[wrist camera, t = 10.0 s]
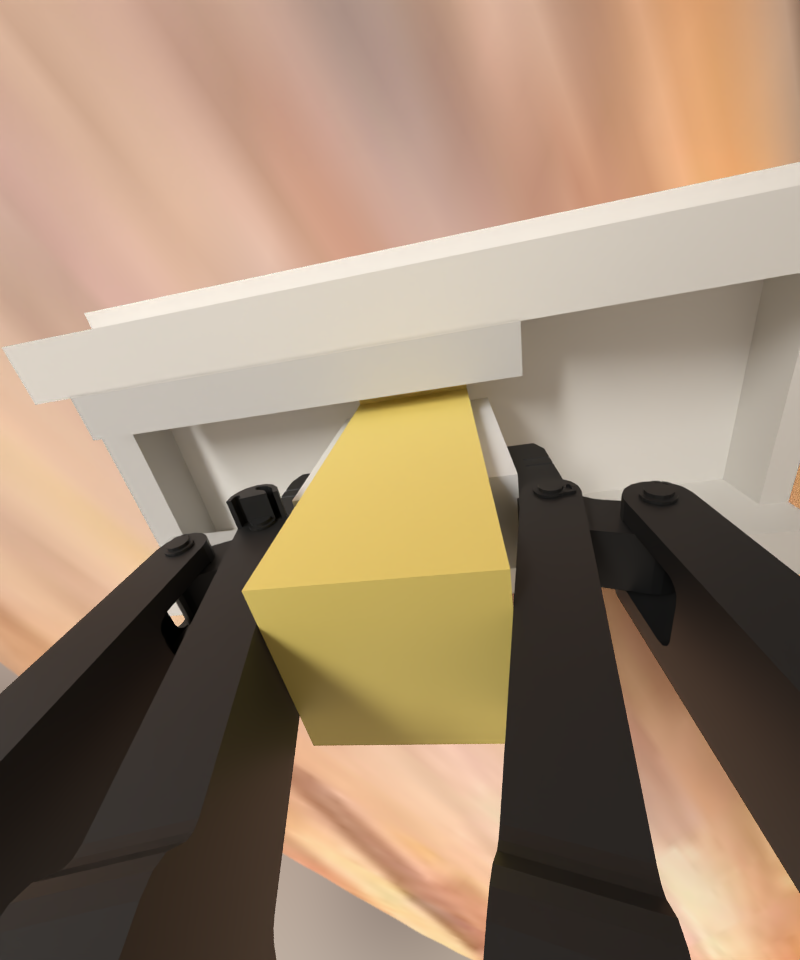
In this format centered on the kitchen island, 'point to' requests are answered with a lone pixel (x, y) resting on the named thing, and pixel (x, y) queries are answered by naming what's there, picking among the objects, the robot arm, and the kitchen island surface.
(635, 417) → the rail
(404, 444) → the yellow juice carton
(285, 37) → the kitchen island surface
